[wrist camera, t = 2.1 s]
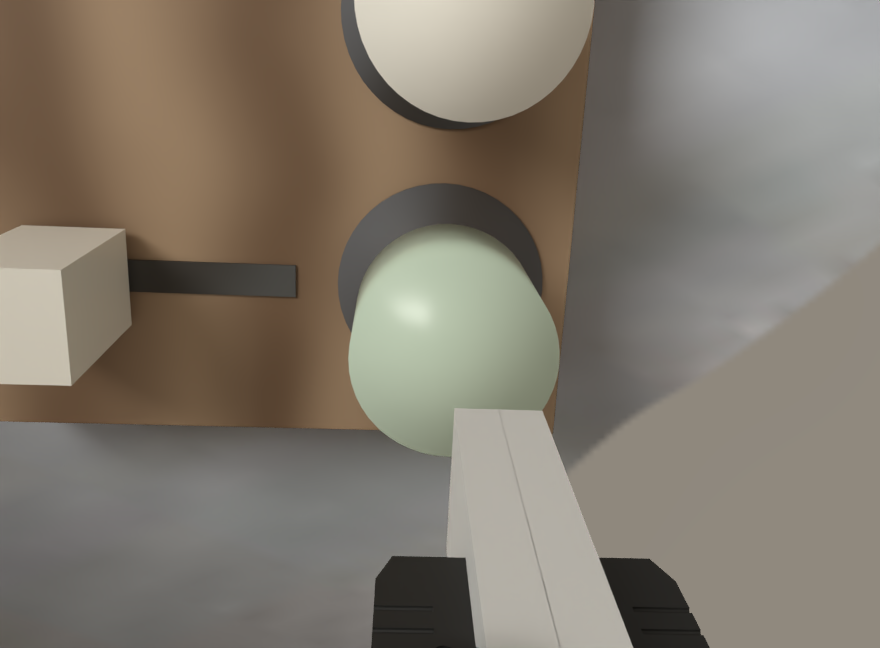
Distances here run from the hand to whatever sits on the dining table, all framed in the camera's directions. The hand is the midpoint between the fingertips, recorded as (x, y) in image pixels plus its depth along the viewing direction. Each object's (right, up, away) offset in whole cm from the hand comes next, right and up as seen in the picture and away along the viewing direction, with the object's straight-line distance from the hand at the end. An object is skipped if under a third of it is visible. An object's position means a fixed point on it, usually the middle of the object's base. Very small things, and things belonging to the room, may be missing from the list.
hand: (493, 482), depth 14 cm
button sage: (-1, +3, +9) cm, 10 cm away
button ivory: (0, +11, +7) cm, 13 cm away
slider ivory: (-12, +4, +11) cm, 17 cm away
